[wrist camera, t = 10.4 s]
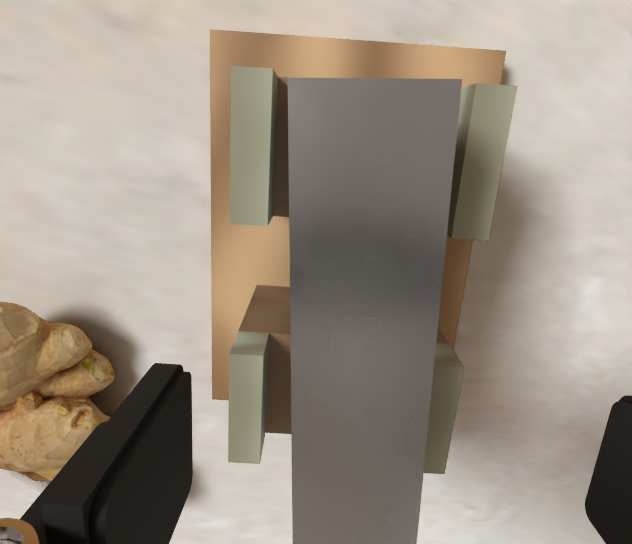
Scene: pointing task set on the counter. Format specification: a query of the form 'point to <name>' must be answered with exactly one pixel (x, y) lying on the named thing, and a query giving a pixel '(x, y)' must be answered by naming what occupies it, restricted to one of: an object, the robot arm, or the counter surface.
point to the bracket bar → (365, 297)
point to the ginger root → (46, 392)
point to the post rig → (273, 212)
